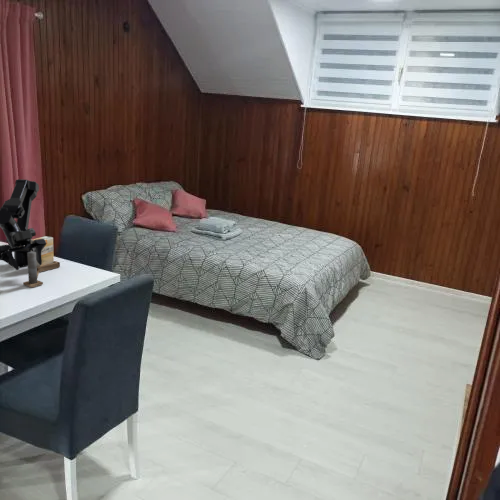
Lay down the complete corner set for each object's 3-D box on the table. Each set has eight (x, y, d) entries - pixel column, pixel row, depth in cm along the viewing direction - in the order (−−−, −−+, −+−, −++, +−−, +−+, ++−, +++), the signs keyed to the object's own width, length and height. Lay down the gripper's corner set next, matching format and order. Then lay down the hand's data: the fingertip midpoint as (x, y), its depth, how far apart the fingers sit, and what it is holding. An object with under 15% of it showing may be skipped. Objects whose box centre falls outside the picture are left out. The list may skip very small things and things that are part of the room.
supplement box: (40, 271, 197) (39, 241, 194) (31, 269, 199) (30, 239, 195) (54, 266, 205) (53, 237, 201) (45, 264, 206) (44, 235, 203)
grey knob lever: (6, 277, 187) (4, 246, 183) (55, 265, 205) (54, 236, 202) (31, 287, 179) (29, 255, 176) (79, 273, 198) (78, 244, 194)
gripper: (-5, 225, 172) (12, 261, 169) (43, 218, 187) (60, 251, 184) (-14, 241, 179) (2, 276, 176) (33, 233, 193) (49, 265, 190)
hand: (29, 266), depth 181 cm, fingers open, 9 cm apart
